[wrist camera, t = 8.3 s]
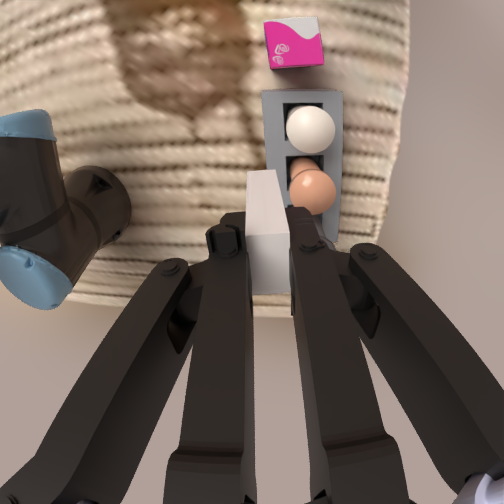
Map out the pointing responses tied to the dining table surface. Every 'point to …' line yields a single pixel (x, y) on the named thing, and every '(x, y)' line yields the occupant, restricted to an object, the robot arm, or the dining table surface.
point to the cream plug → (309, 128)
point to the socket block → (284, 151)
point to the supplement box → (293, 42)
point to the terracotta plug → (310, 185)
